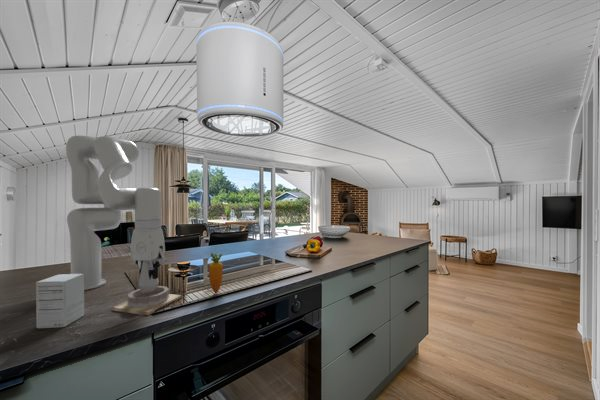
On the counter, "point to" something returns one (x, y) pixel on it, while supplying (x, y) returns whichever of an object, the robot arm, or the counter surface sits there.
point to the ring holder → (146, 301)
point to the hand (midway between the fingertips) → (148, 280)
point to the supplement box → (59, 300)
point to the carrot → (215, 272)
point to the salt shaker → (147, 279)
